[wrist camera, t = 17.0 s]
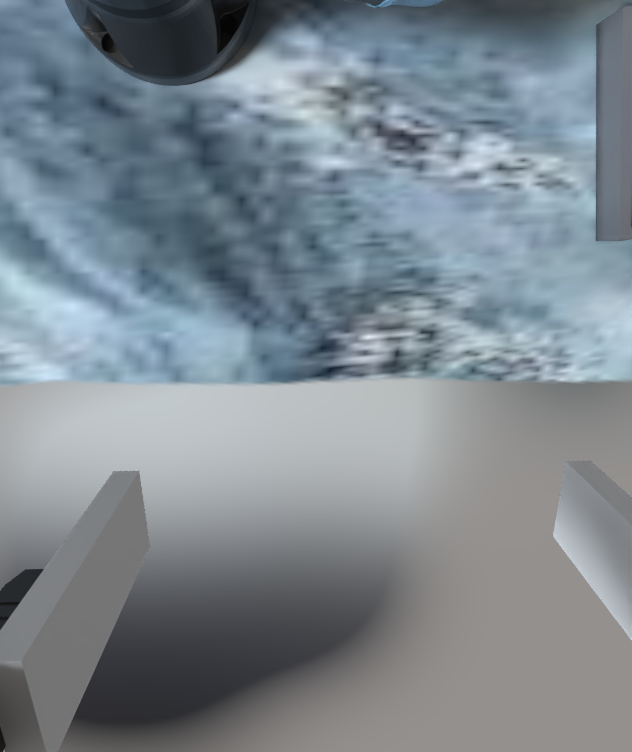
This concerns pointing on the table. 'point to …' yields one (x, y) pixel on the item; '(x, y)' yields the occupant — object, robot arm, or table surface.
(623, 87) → the tray
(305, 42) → the table surface
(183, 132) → the table surface
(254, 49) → the table surface
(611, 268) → the table surface
